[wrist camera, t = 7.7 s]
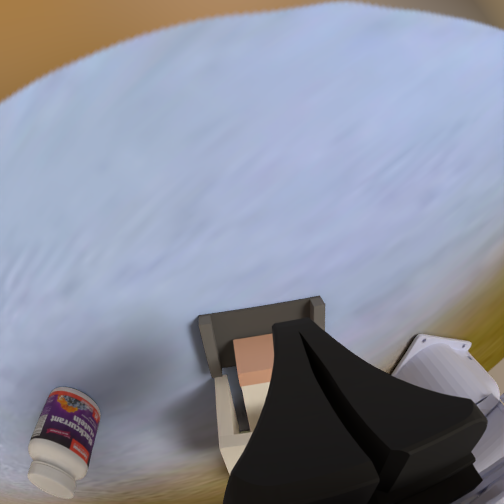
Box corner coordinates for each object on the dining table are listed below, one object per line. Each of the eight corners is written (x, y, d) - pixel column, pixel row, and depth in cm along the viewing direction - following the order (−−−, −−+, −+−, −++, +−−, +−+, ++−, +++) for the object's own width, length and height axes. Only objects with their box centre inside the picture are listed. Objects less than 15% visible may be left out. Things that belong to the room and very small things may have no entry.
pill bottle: (111, 407, 24) (92, 496, 15) (88, 428, 25) (70, 506, 16) (61, 375, 22) (26, 462, 13) (43, 400, 23) (14, 477, 14)
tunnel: (319, 357, 25) (349, 422, 18) (317, 409, 27) (339, 468, 21) (214, 376, 24) (219, 448, 17) (227, 425, 27) (235, 488, 20)
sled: (296, 329, 22) (315, 375, 18) (298, 465, 30) (308, 499, 26) (232, 339, 22) (240, 389, 17) (259, 472, 30) (266, 507, 26)
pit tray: (319, 295, 22) (325, 304, 21) (319, 349, 24) (323, 358, 23) (198, 315, 22) (198, 325, 20) (211, 367, 23) (211, 378, 22)
